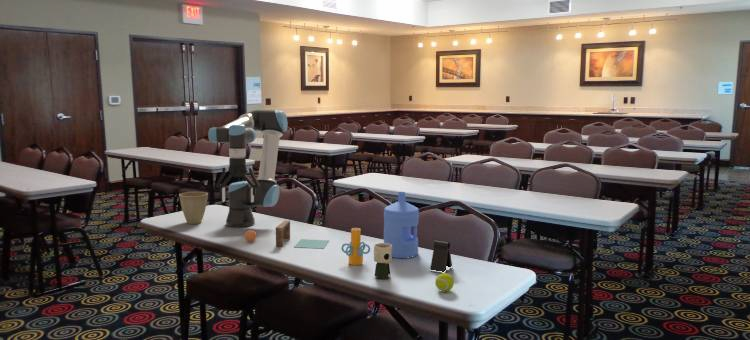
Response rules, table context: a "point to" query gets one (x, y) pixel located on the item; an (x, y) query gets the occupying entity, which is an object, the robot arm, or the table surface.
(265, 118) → the robot arm
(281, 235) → the bridge
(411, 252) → the water jug
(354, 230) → the orange post with rings
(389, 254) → the character mug
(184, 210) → the plant pot
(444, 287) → the tennis ball
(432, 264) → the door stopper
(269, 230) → the table surface
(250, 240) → the ball
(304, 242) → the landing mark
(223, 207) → the table surface
